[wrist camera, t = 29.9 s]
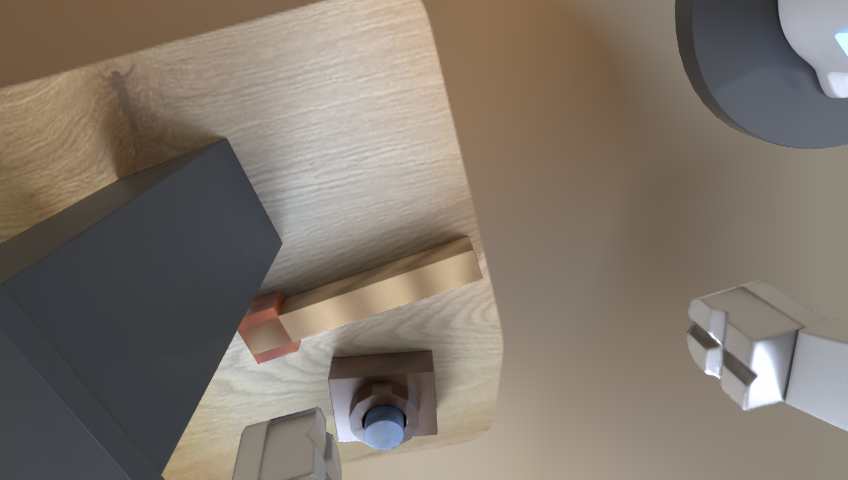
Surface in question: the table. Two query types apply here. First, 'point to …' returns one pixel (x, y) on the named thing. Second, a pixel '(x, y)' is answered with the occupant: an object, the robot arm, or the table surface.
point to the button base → (383, 392)
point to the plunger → (384, 427)
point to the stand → (125, 317)
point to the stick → (354, 298)
